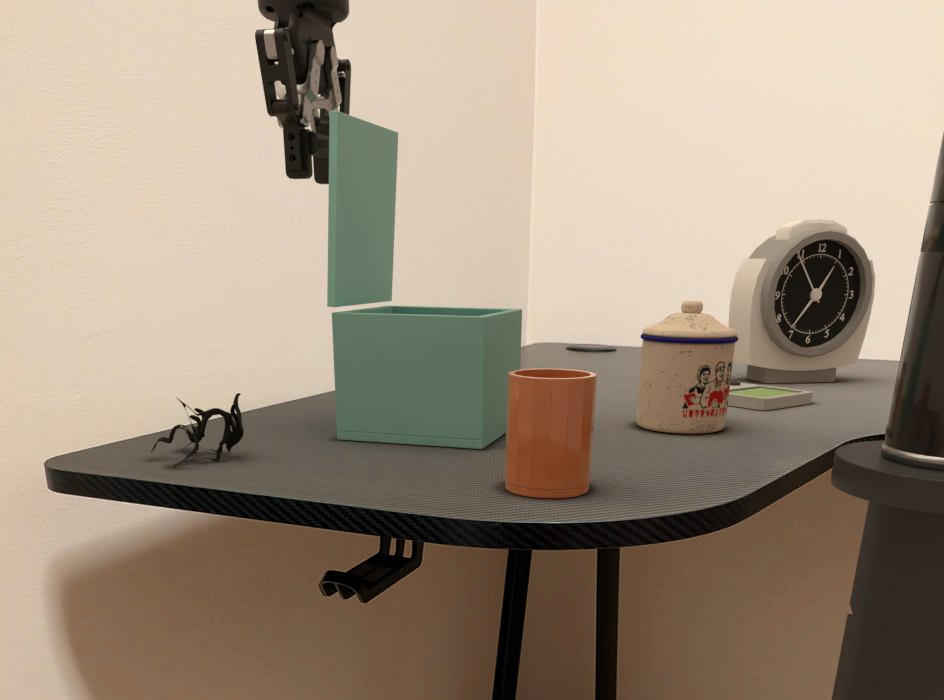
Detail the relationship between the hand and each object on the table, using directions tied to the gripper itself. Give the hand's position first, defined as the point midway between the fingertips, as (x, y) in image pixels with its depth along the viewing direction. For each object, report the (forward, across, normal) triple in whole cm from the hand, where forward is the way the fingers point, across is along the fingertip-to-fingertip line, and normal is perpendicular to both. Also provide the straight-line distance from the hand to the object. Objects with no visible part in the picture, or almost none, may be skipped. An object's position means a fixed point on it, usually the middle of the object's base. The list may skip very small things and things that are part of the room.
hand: (313, 180), depth 81 cm
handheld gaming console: (+22, +33, -38) cm, 55 cm away
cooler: (+21, 0, -11) cm, 24 cm away
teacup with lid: (+22, +12, -34) cm, 42 cm away
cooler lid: (+3, 0, -5) cm, 6 cm away
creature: (+22, -18, +3) cm, 28 cm away
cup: (+22, -19, -26) cm, 39 cm away
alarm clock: (+22, +55, -45) cm, 74 cm away
